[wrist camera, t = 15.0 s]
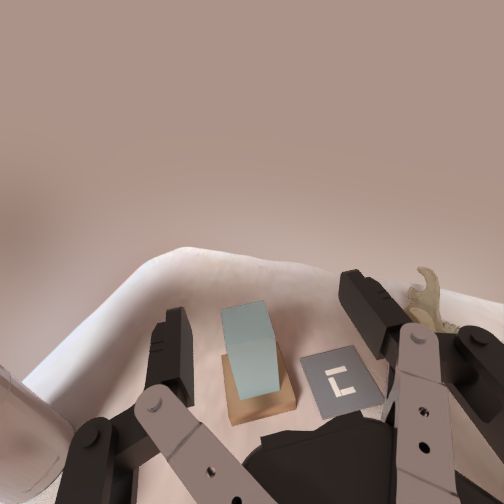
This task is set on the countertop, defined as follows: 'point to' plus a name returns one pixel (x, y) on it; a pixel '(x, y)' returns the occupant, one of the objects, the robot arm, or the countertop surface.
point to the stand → (259, 404)
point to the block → (251, 349)
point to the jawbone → (428, 304)
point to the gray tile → (340, 382)
